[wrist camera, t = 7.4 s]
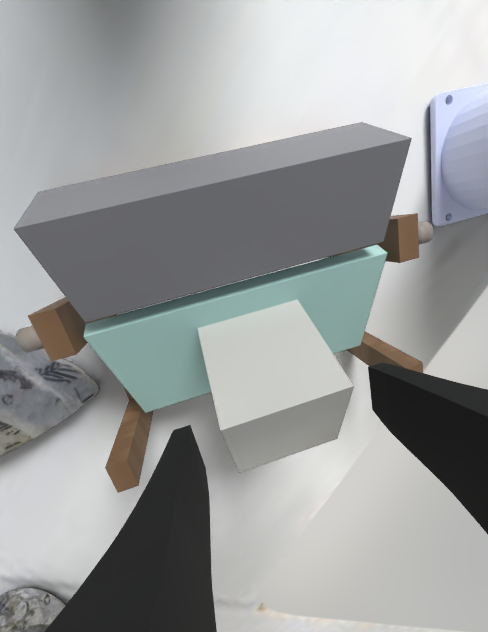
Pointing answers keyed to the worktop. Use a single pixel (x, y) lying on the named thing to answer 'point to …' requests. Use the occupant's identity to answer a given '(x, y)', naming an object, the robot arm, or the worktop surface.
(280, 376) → the stone block
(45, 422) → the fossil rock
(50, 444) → the worktop surface
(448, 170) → the robot arm
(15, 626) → the fossilized seashell
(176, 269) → the trapdoor plate
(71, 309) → the walnut frame
